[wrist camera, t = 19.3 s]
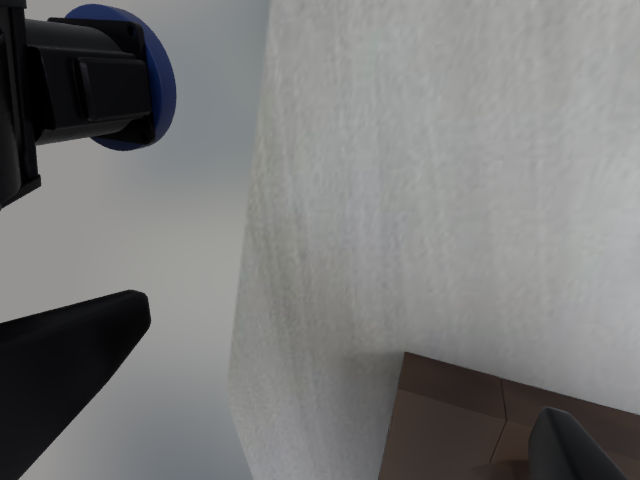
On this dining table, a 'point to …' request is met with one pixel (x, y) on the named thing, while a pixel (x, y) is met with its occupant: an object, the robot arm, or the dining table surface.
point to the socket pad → (485, 425)
